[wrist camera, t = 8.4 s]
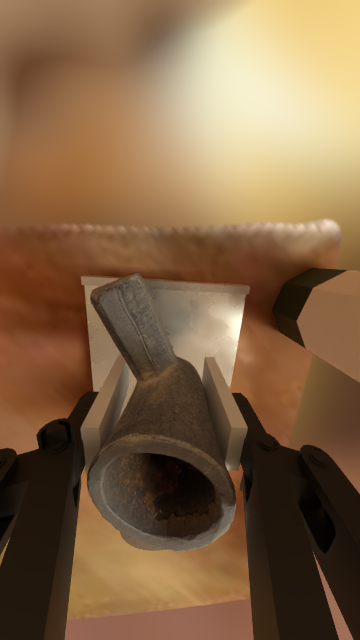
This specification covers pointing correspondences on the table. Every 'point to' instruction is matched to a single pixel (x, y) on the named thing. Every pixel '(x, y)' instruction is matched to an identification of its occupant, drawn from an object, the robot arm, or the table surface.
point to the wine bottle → (324, 316)
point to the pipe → (158, 435)
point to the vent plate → (175, 330)
